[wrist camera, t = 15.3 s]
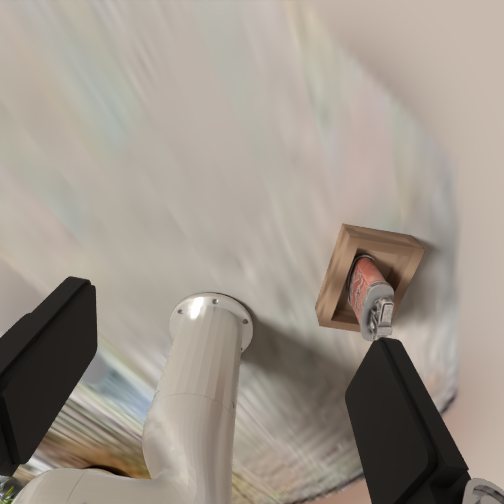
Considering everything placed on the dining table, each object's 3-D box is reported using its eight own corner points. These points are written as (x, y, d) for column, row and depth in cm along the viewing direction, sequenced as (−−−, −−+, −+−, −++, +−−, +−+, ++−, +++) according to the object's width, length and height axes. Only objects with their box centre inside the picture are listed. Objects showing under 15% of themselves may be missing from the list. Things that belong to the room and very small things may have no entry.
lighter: (368, 303, 43) (395, 357, 35) (343, 303, 44) (364, 357, 35) (376, 252, 40) (409, 298, 31) (349, 252, 40) (374, 299, 31)
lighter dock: (374, 316, 46) (384, 335, 42) (315, 307, 45) (319, 326, 42) (411, 235, 40) (425, 249, 36) (342, 223, 39) (350, 237, 36)
